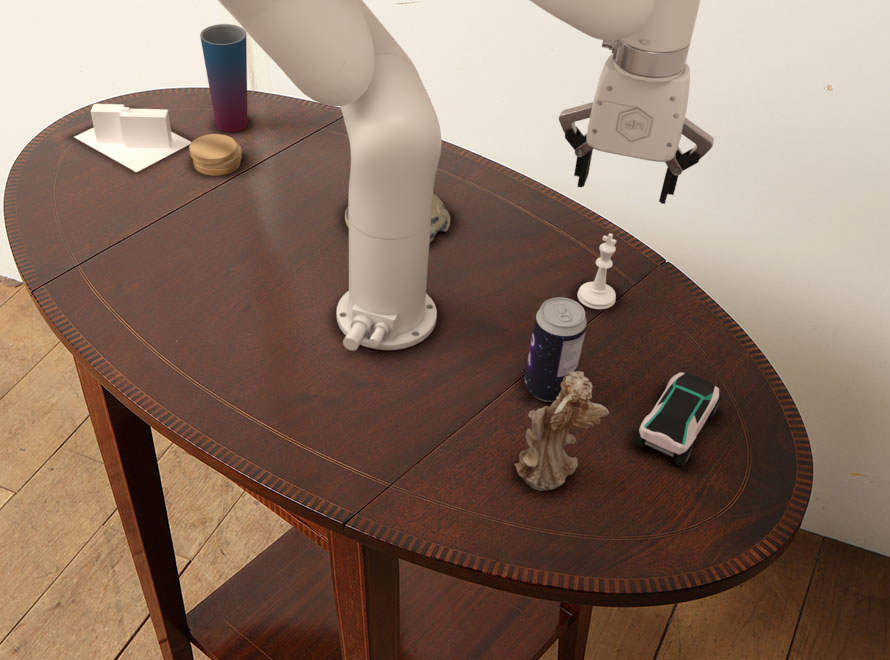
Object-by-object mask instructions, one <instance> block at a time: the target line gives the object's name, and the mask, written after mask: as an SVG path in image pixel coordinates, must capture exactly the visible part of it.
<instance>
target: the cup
mask: <svg viewBox="0 0 890 660" xmlns="http://www.w3.org/2000/svg"><path fill="white" fill-rule="evenodd" d="M199 37H200V38H199V39H200V43H201V48H202V55H203V60H204V64H205V70H206V71H205V72H206V77H207V83H208V87H209V93H210V98H211V105H212V110H213V115H214V116H213V117H214V122H215V127H216V128H217V129H218V130H219V131H220V132H224V133H229V134H230V133H231V134H232V133H238V132H241V131H244V130H245V129H246V128H247V127H248V124H249V123H248V120H249V119H248V59H247V58H248V55H247V54H248V53H247V51H248V50H247V48H248V47H247V46H248V45H247V31H246V30H245V29H244V28H243V27H242V26H239V25H236V24H231V23H217V24H213V25H210V26H206V27H205V28H204V29H202V30H201V31H200V34H199Z"/></svg>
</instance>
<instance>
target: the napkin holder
mask: <svg viewBox="0 0 890 660" xmlns="http://www.w3.org/2000/svg"><path fill="white" fill-rule="evenodd" d="M90 116H91V120H92V125H93V127H92V128H89V129H87V130H86V131H83V132H81V133H79V134H77V135H75V136H74V138H75V139H76V140H78V141H80V142H81V143H84V144H85V145H87V146H88V147H91V148H92V149H94V150H96V151H97V152H100V153H101V154H103V155H104V156H107V157H108V158H110V159H112V160H114V161H115V162H117V163H119V164H121V165H122V166H125V167H126V168H128V169H130V170H132V171H133V172H134V173H138V172H140V171H141V170H145V169H146V168H148V167H149V166H152V165H153V164H155V163H157V162H159V161H160V160H162V159H164V158H167V157H168V156H170V155H172V154H174V153H176V152H178V151H180V150H182V149H184V148H185V147H188V146H190V144H191V142H192V141H190V140H188V139H187V138H184V137H183V136H181V135H179V134H177V133H175V132H173V131H172V128H171V121H170V113H169V109H161V108H160V109H159V108H158V109H157V108H130V107H129V106H125V104H121V103H119V104H117V103H93V105H92V107H91V109H90Z"/></svg>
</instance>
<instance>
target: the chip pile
mask: <svg viewBox="0 0 890 660" xmlns="http://www.w3.org/2000/svg"><path fill="white" fill-rule="evenodd" d="M190 142H191V144H189V145H188V147H189V149H188V150H189V155H190V157H191V158H192V163H193V167H194V169H195V170H196V171H197V172H198V173H200V174H203V175H206V176H211V177H219V176H225V175H229V174H231V173H233V172H235V171H237V169H238V168H239V167H240V165H241V160H242V158H243V151H242V150H243V149H242V147H241V145H240V144H239V143H238V142H237V141H236V140H235V139H234V138H232V137H230V136H229V135H225V134H220V133H209V134H204V135H200V136H199V137H196V138H195V139H193V140H192V141H190Z"/></svg>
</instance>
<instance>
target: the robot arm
mask: <svg viewBox="0 0 890 660" xmlns="http://www.w3.org/2000/svg"><path fill="white" fill-rule="evenodd" d="M217 1H218V2H219V3H220V5H222V6H223V8H224V9H225V10H226V11H227V12H228V13H229V14H230V15H231V16H232V17H233V18H234V20H236V22H237V23H238V24H239V25H241V26H240V27H241V28H243V29H244V30H245V31H246V33H247V34H248V36H250V37H251V39H252V40H253V41H254V42H255V43H256V44H257V45H258V46H259V47H260V48H261V50H263V52H265V54H266V55H267V56H268V57H269V58H270V60H272V61H273V62H274V63H275V64H276V65H277V66H278V68H280V70H281V71H282V72H283V73H284V74H285V75H286V77H287V78H288V79H289V80H290V81H291V82H292V83H293V84H294V86H295V87H296V88H297V89H298V90H299V91H300V92H301V93H303V95H305V96H307V97H308V98H309V99H310V100H312V101H315V102H317V103H319V104H321V105H325V106H330V107H340V110H341V113H342V117H343V122H344V126H345V129H346V132H347V136H348V141H349V149H350V172H349V178H348V179H349V180H348V197H347V198H348V200H347V201H348V202H347V203H348V206H347V207H348V216H349V228H348V291H346V292H345V293H344V294H343V295H342V296H341V298H340V299H339V301H338V302H337V306H336V323H337V325H338V328H339V330H340V331H341V332H342V333H343V335H345V336H344V338H343V340H342V345H343V346H344V348H345V349H346V350H348V351H356V350H358V348H359V347H360V346H362V347H366V348H369V349H374V350H380V351H397V350H403V349H407V348H410V347H414V346H416V345H417V344H420V343H421V342H423V341H424V340H426V339H427V338H428V337H429V336H430V335H431V333H433V331H434V329H435V327H436V324H437V319H438V318H437V316H438V315H437V314H438V311H437V307H436V304H435V302H434V300H433V299H432V297H431V296H430V295H428V293H427V284H428V283H427V282H428V281H427V280H428V271H429V270H428V267H429V256H430V255H429V253H430V243H431V242H430V227H431V209H432V197H433V193H434V189H435V188H434V187H435V180H436V175H437V171H438V167H439V162H440V158H441V152H442V131H441V126H440V122H439V119H438V116H437V115H438V114H437V113H436V110H435V108H434V105H433V103H432V100H431V98H430V96H429V93H428V92H427V91H428V90H427V89H426V87H425V86H424V83H423V80H422V78H421V76H420V74H419V72H418V70H417V68H416V66H415V64H414V62H413V61H412V59H411V58H410V57H409V55H408V54H407V52H405V50H404V49H403V48H402V46H401V45H400V44H399V43H398V42H397V41H396V39H395V38H394V36H392V34H391V32H389V31H388V30H387V28H386V27H385V25H383V23H382V22H381V20H379V18H377V16H376V15H375V14H374V13H373V11H372V10H371V9H370V8H369V6H368V5H367V4H366V3H365V1H364V0H217ZM529 1H530V2H532V3H533V4H534V5H536V6H537V7H539V8H540V9H542V10H543V11H544V12H546V13H548V14H550V15H551V16H553V17H554V18H556V19H558V20H560V21H562V22H564V23H565V24H567V25H568V26H570V27H572V28H573V29H576V30H578V31H579V32H581V33H583V34H585V35H586V36H588V37H591V38H594V39H596V40H601V41H602V43H601V48H604V49H608V51H611V54H610V55H609V56H608V58H607V59H606V61H605V63H604V65H603V68H602V70H601V73H600V75H599V79H598V82H597V85H596V86H597V87H596V90H595V93H594V98H593V101H591V102H587V103H585V104H582V105H581V104H580V105H578V106H574V107H570V108H567V109H564V110H562V111H561V112H560V114H559V116H558V121H559V124H560V126H561V129H562V131H563V133H564V139H565V140H566V142H568V144H569V145H570V146H571V148H572V149H573V150H574V155H575V156H576V161H575V166H574V167H575V168H574V173H573V176H574V177H578V180H577V188H584V187H585V185H586V182H587V179H588V178H589V177H588V176H589V174H590V167H591V162H592V156H593V151H594V150H596V151H598V152H603V153H607V154H613V155H617V156H623V157H629V158H634V159H640V160H644V161H650V162H657V163H665V165H666V167H667V168H666V171H665V175H664V179H663V182H662V187H661V191H660V196H659V199H658V202H659V203H660V204H662V205H666V201H667V198H668V195H672V196H674V194H675V191H676V188H677V183H678V179H679V176H680V175H681V174H682V173H683V172H684V171H685V170H687V169H689V168H691V167H693V166H696V165H697V164H698V163H699V162H700V160H701V159H702V158H703V157H704V156H705V155H706V154H707V153H708V152H709V151H710V150H711V149H712V148H713V147H714V140H715V139H714V137H713V136H712V135H710V134H709V133H708V132H706V131H705V130H704V129H702V128H701V127H699V126H698V125H697V124H695V123H694V122H692V121H691V120H690V119H688V118H687V117H686V115H687V110H688V105H689V104H688V103H689V95H690V85H691V68H690V66H689V64H687V59H688V55H689V50H690V46H691V41H692V39H693V38H692V37H693V34H694V29H695V24H696V21H697V16H698V11H699V9H700V4H701V0H529ZM587 119H589V120H588V124H587V130H586V133H585V134H583V133H582V131H581V130H580V129H579V128H578V127H577V125H576V122H578V121H579V122H580V121H584V120H587ZM682 136H683V137H685V138H686V139H688V140H689V141H690V142H692V143H693V144H695V146H694V147H692V148H691V149H689V150H687V151H685V152H682V150H681V148H680V142H681V138H682ZM429 242H430V243H429Z"/></svg>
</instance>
